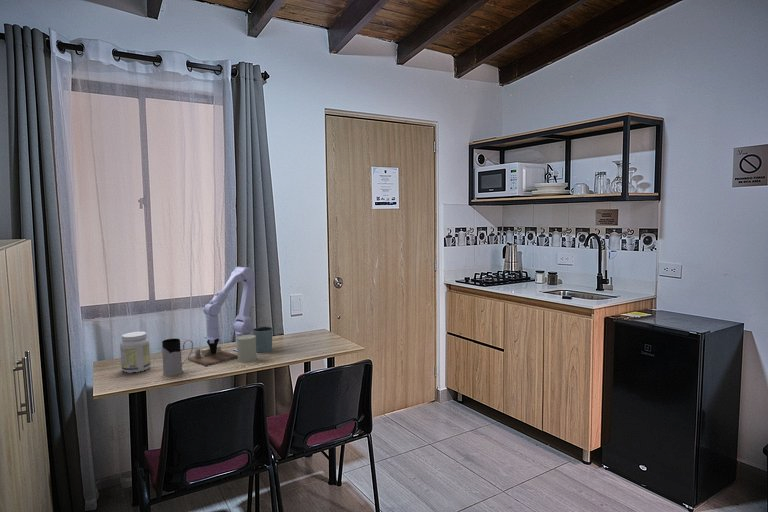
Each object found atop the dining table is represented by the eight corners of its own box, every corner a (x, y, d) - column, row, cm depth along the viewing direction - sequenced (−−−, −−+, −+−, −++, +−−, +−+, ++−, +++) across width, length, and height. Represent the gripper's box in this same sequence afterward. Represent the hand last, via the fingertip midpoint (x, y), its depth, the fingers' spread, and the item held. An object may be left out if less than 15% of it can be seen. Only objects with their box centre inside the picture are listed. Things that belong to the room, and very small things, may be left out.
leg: (203, 356, 245) (203, 350, 245) (201, 355, 247) (201, 349, 246) (220, 351, 253) (220, 346, 253) (218, 351, 254) (218, 345, 254)
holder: (159, 372, 225) (157, 340, 223) (190, 365, 235) (188, 335, 233) (166, 377, 218) (164, 344, 217) (198, 369, 228) (196, 338, 227)
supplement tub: (143, 363, 239) (141, 329, 238) (155, 368, 231) (153, 333, 230) (117, 370, 230) (114, 334, 228) (128, 375, 222) (126, 338, 220)
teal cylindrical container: (276, 348, 262) (275, 326, 261) (269, 354, 252) (268, 331, 251) (257, 348, 263) (256, 326, 262) (250, 353, 253) (249, 331, 252)
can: (237, 363, 237) (236, 338, 236) (237, 358, 246) (236, 334, 245) (257, 361, 240) (256, 337, 239) (256, 356, 248) (255, 333, 247)
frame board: (220, 351, 258) (220, 342, 257) (238, 357, 247) (238, 347, 246) (187, 360, 244) (187, 349, 244) (205, 366, 233) (205, 355, 233)
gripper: (205, 324, 252) (206, 350, 253) (202, 331, 238) (203, 358, 239) (220, 323, 254) (221, 349, 255) (217, 330, 240) (219, 357, 241)
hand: (213, 353), depth 247 cm, fingers closed
